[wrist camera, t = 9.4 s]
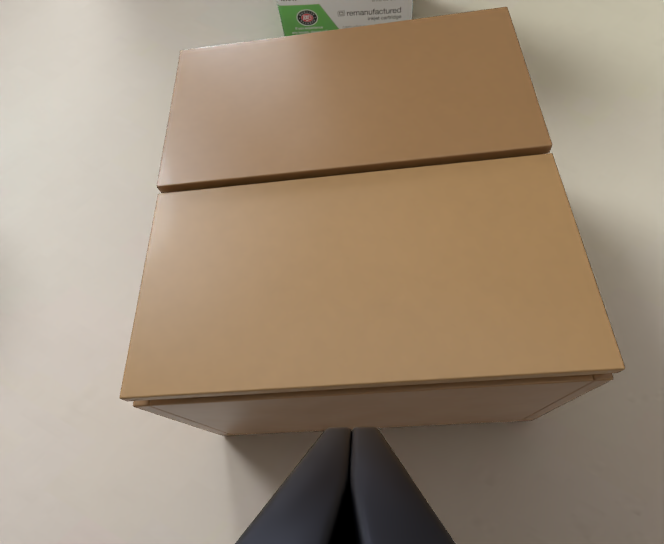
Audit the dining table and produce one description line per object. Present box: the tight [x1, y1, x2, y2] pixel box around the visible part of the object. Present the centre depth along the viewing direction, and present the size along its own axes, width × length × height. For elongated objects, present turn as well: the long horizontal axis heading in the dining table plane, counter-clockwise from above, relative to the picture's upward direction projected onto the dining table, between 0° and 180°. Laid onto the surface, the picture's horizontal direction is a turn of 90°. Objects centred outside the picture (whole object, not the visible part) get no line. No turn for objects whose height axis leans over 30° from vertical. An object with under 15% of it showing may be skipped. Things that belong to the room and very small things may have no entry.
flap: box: [120, 153, 625, 401], centre depth 13 cm, size 7×13×1 cm, turn 92°
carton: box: [133, 7, 613, 436], centre depth 18 cm, size 14×13×8 cm
